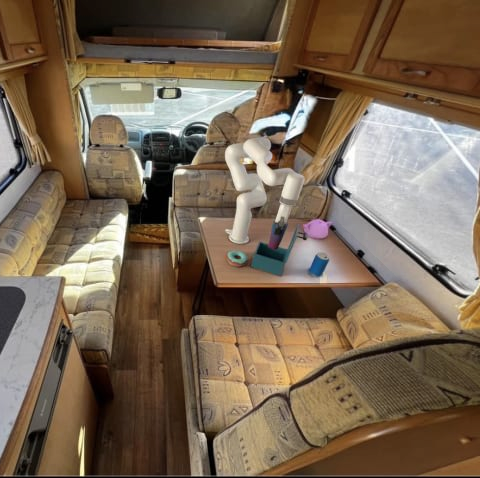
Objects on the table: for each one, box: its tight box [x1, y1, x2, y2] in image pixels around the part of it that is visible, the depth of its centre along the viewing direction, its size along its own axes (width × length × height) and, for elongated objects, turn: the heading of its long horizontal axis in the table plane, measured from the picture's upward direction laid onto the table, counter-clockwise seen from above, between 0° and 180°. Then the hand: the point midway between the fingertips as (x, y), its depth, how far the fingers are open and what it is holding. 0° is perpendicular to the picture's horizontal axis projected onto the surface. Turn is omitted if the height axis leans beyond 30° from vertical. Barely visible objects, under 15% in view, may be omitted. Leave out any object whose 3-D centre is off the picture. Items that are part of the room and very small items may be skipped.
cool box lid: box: [285, 223, 308, 264], centre depth 132 cm, size 16×14×6 cm
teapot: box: [302, 218, 333, 240], centre depth 169 cm, size 14×20×11 cm
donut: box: [226, 249, 249, 268], centre depth 147 cm, size 12×12×4 cm
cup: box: [267, 219, 289, 249], centre depth 135 cm, size 7×7×15 cm
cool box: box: [250, 241, 288, 277], centre depth 144 cm, size 16×14×9 cm
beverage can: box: [308, 252, 330, 277], centre depth 137 cm, size 6×6×12 cm
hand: (278, 231), depth 133 cm, fingers closed on cup, 6 cm apart
